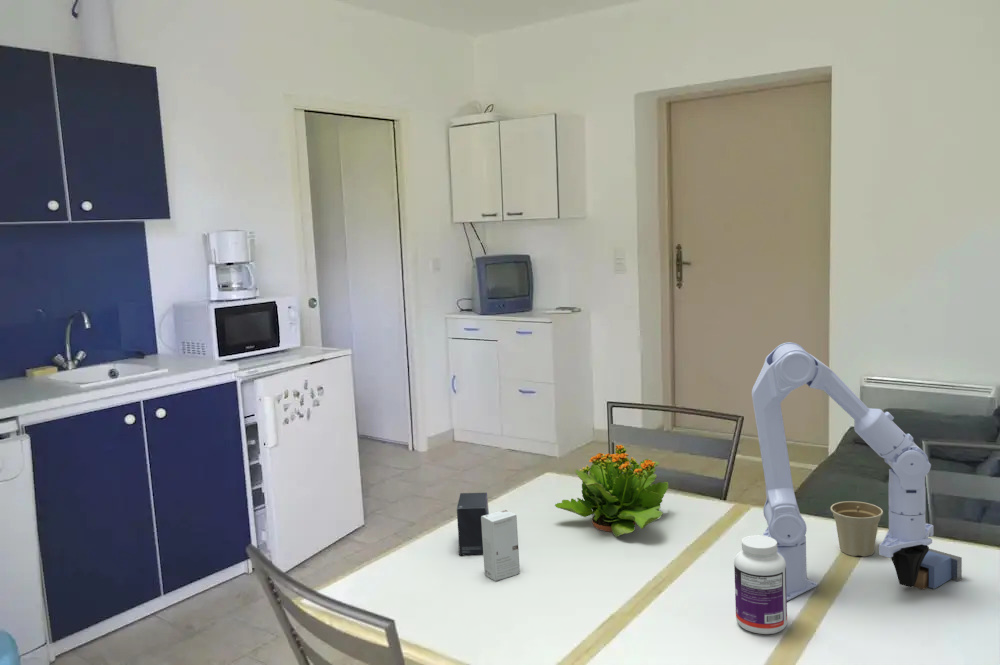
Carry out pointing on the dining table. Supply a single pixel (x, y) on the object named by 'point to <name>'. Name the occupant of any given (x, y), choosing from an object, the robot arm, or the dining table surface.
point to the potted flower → (618, 492)
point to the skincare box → (500, 545)
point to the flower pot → (856, 526)
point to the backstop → (953, 565)
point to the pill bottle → (760, 586)
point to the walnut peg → (922, 578)
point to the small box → (471, 522)
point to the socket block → (937, 568)
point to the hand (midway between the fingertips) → (907, 584)
